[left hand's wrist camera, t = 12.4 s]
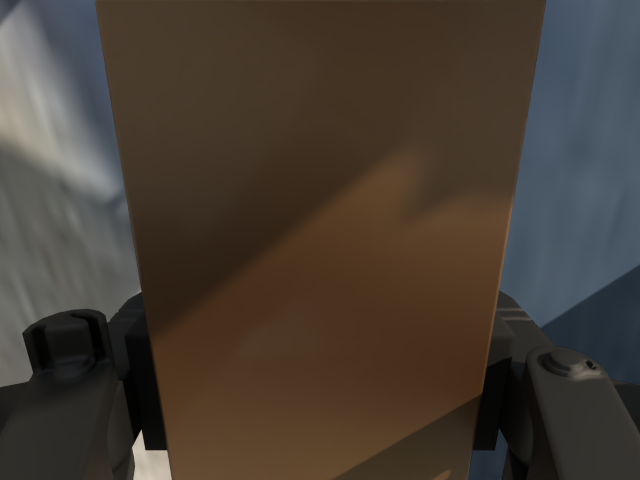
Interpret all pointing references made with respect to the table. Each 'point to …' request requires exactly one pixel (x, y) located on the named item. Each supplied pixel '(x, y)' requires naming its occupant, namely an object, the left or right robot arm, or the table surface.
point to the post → (320, 223)
